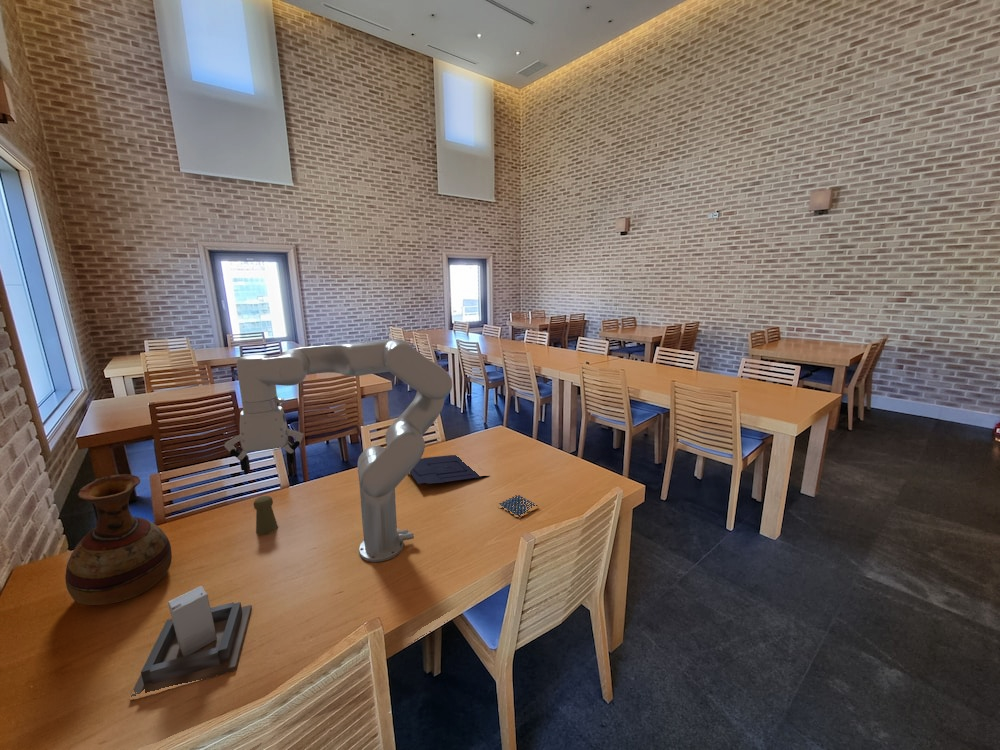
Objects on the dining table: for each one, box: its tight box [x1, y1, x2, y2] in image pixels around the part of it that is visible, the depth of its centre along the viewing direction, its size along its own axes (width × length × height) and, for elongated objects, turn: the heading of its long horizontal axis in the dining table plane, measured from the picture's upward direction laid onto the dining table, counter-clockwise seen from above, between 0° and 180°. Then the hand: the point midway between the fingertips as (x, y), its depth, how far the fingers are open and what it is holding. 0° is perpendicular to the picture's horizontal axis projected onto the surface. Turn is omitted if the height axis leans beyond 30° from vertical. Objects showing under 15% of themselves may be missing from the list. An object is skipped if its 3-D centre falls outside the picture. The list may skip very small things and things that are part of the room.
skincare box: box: [167, 585, 217, 657], centre depth 84 cm, size 6×4×12 cm
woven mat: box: [498, 494, 538, 516], centre depth 140 cm, size 10×11×2 cm
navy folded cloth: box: [409, 454, 481, 485], centre depth 165 cm, size 24×30×4 cm
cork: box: [253, 495, 279, 536], centre depth 126 cm, size 6×6×11 cm
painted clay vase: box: [64, 473, 173, 606], centre depth 100 cm, size 20×20×30 cm
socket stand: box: [130, 601, 253, 697], centre depth 85 cm, size 17×17×4 cm
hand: (269, 469), depth 102 cm, fingers open, 9 cm apart
